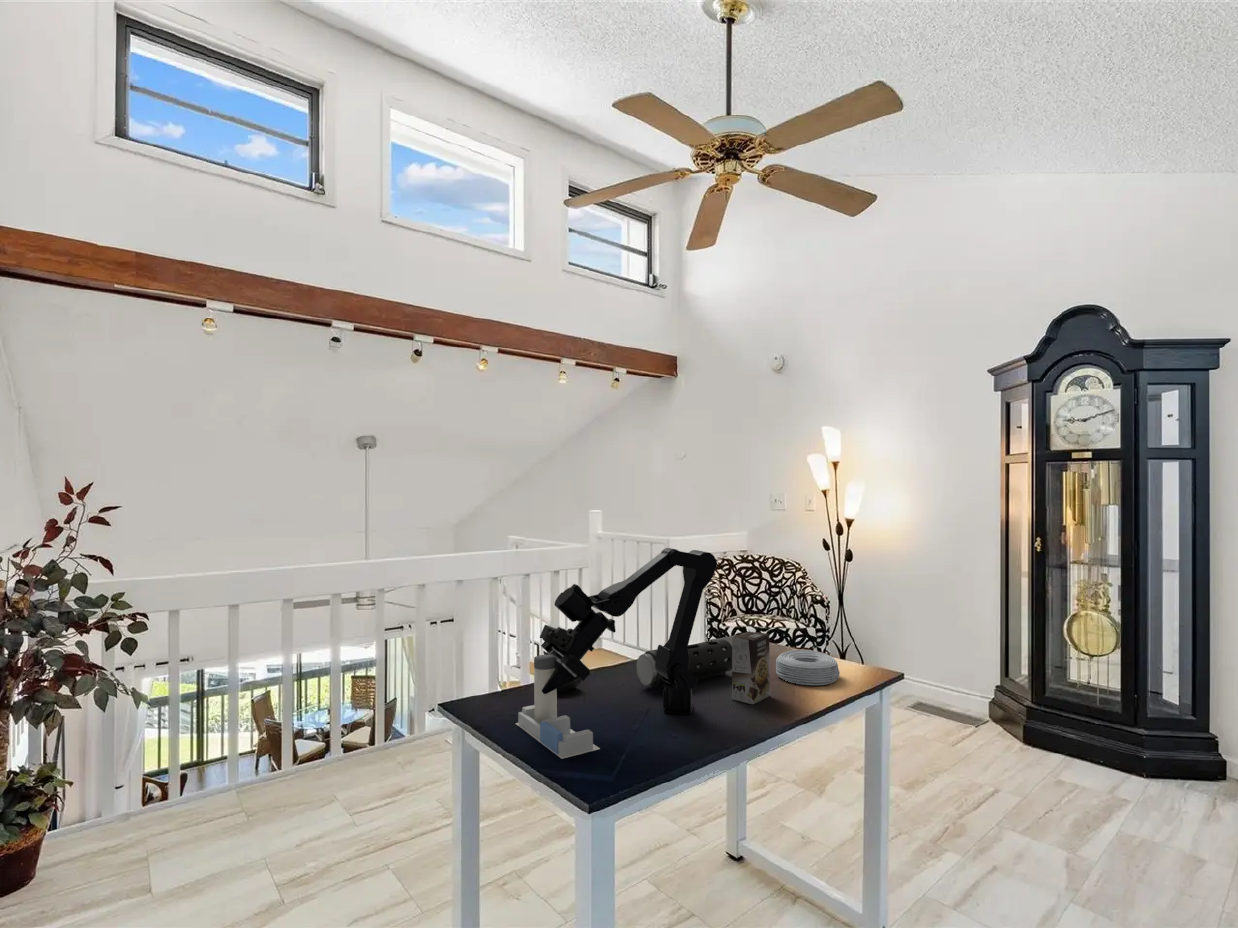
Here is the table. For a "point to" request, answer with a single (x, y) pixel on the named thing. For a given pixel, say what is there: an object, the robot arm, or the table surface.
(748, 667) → the cookie box
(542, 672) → the white capped cylinder
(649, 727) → the table surface
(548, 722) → the white slotted stand
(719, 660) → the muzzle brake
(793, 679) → the cable
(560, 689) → the black piece
